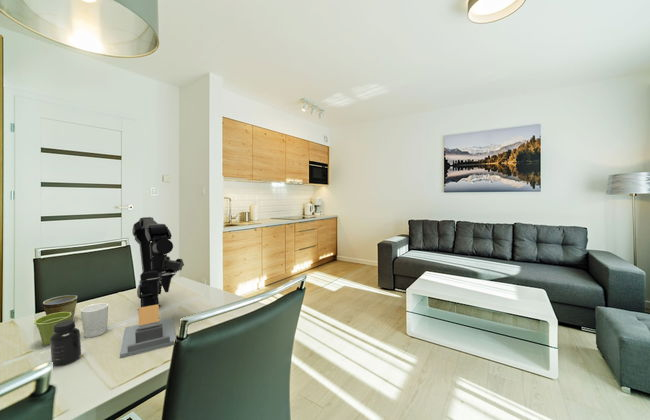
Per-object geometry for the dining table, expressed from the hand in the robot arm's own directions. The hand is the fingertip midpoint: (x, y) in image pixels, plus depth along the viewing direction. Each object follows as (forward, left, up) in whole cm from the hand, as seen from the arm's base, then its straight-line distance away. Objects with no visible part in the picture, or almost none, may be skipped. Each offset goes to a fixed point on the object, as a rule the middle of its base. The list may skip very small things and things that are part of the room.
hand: (161, 294), depth 108 cm
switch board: (+1, -8, -13) cm, 15 cm away
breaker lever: (+4, -12, -7) cm, 14 cm away
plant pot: (-30, -16, -13) cm, 36 cm away
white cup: (-21, -9, -13) cm, 26 cm away
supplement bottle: (-14, -25, -13) cm, 31 cm away
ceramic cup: (-43, -4, -13) cm, 45 cm away
